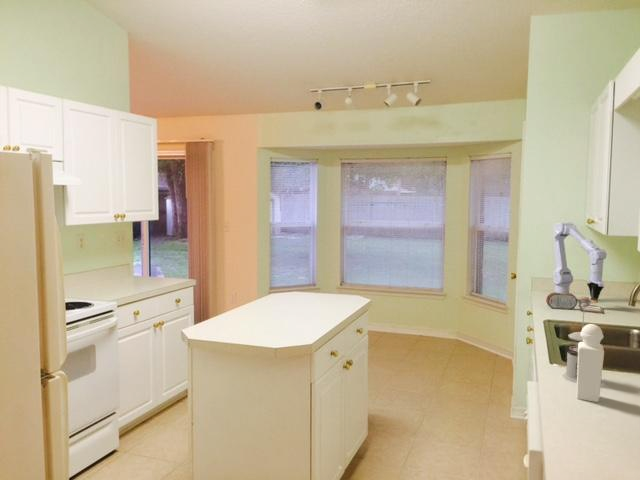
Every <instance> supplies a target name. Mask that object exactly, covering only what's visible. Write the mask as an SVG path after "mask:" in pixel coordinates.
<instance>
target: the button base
mask: <svg viewBox="0 0 640 480" xmlns="http://www.w3.org/2000/svg"><path fill="white" fill-rule="evenodd" d="M582 303H586V304H587V305H588V306H591V300H590V299H588V302H587V301H581V299H580V298H578V307H579V308H580V305H581V304H582Z"/></svg>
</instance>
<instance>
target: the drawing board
mask: <svg viewBox="0 0 640 480" xmlns="http://www.w3.org/2000/svg"><path fill="white" fill-rule="evenodd" d="M579 308H580V312H581V313H582V312H583V310H584V313H593V314H602V315H603V314H604V311H603V309H602V307H601V306H591V305H590V306H587V307H582V306H581V305H580V307H579Z"/></svg>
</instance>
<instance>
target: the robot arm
mask: <svg viewBox="0 0 640 480" xmlns="http://www.w3.org/2000/svg"><path fill="white" fill-rule="evenodd" d="M552 230H553V231H552V232H553V235H552V242H553V249H554V250H553V251H554V258H555V266H556V268H555V269H554V270H553V272H552V273H553V274H552V275H553V276H552V282H553V283H554V292H556V293H570V286H571V284H572V283H573V282H574V276H573V274H572V271H571V269H570V268H569V267H568V265H567V256H566V255H567V253H566V248H565V239H566V238H567V237H569V236H572V238H574V239H575V240H576V241H577V242H578V243H579V244H580V247H581V248H582V250H584V251H585V252H586V253H587V255H588V258H589V260H590V270H589V277H588V278H587V280H586V281H587V282H588V283H586V284H587V286H588V289H589V294H590V297H591V293H592V289H593V297H594V298H598V299H599V297H600V294H601V292H602V291H603V288H604V282H603V270H604V260H606V258H607V252H606V250H605V249H603V248H600V247H599V246H598V245H596V244H595V243H594V241H593V240H592V239H587V238H586V237H585V236H584V235H583V234H582V233H581V232H580V230H578V229H577V226H576V225H574V223H573V222H556V223H555V224H554V225H553V227H552Z"/></svg>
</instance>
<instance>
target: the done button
mask: <svg viewBox="0 0 640 480" xmlns="http://www.w3.org/2000/svg"><path fill="white" fill-rule="evenodd" d="M579 299H581V301H587V302H588V300H590V298H589V297H586V296H585V297H584V296H580V297H579Z"/></svg>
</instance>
